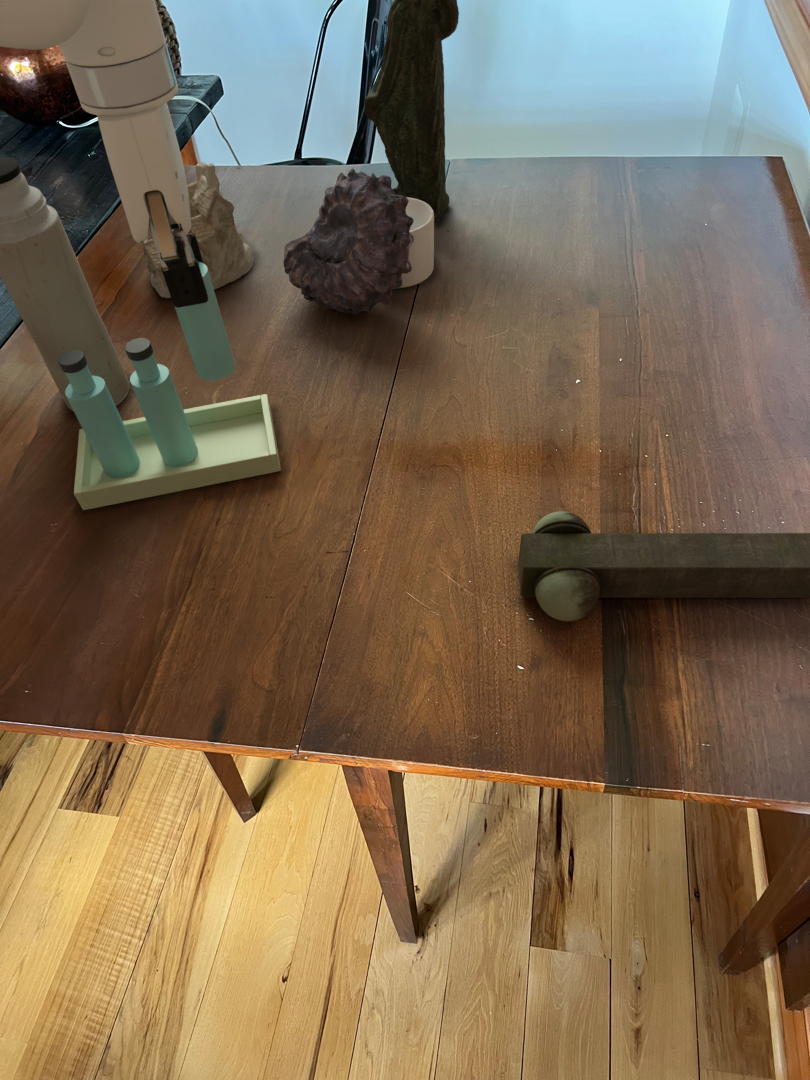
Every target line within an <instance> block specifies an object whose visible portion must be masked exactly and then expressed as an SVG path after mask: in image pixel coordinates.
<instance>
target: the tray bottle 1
mask: <svg viewBox="0 0 810 1080" xmlns="http://www.w3.org/2000/svg"><path fill="white" fill-rule="evenodd" d="M58 363H59V365H60V367H61V369H62V371H63V372H65V374H66V376H67V378H68V380H69V382H70V384H69V385H68V386H67V388H66V390H65V395H66V397H67V399H68V401H69V403H70V405H71V407H72V409H73V411H72V412H74V415H75V417H76V418H77V421H78V423H79V424H80V426H81V429H83V430H84V432H85V434H86V436H87V438H88V440H89V442H90V444H91V446H92V448H93V450H94V452H95V454H96V456H97V458H98V460H99V462H100V464H101V466H102V468H103V470H104V472H105V473H106V475H108V476H109V477H112V478H122V477H126V476H128V475H130V474H132V473H133V472H135V471H136V470H137V468H138V467H139V465H140V459H139V457H138V454H137V452H136V450H135V448H134V445H133V443H132V441H131V439H130V437H129V434H128V432H127V430H126V428H125V426H124V423H123V421H124V420H123V419H122V417H121V413H120V412H119V410H118V408H117V405H116V406H115V403H114V401H113V399H112V397H111V395H110V392H109V390H108V388H107V386H106V383H105V381H104V380H103V379H102V378H101V377H98V376H92V375H91V373H90V371H89V369H88V366H87V361H86V358H85V356H84V354H83V353H82V352H81V351H79V350H71V351H67V352H65V353H63V354H62V355H60V356H59V358H58Z"/></svg>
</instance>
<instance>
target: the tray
mask: <svg viewBox="0 0 810 1080" xmlns="http://www.w3.org/2000/svg"><path fill="white" fill-rule="evenodd" d="M183 410H184V413H185V416H186V419H187V421H188V424H189V427H190V429H191V432H192V435H193V438H194V440H195V443H196V446H197V448H198V454H197V456H196V458H195V459H194V460H193V461H191V462H190V463H188V464H186V465H183V466H177V467H175V466H169V465H167V464H166V463H165V462H164V461H163V459H162V457H161V454H160V452H159V449H158V447H157V445H156V442H155V440H154V437H153V435H152V433H151V430H150V428H149V426H148V423H147V421H146V418H145V416H143V417H142V416H141V417H137V418H132V419H127V420H122V421H123V423H124V426H125V428H126V430H127V432H128V434H129V437H130V439H131V441H132V443H133V445H134V448H135V450H136V452H137V454H138V457H139V459H140V465H139V467H138V468H137V470H136V471H135V472H133V473H132V474H130V475H128V476H126V477H122V478H112V477H109V476H108V475H106V473H105V472H104V470H103V468H102V466H101V464H100V462H99V460H98V458H97V456H96V454H95V452H94V450H93V448H92V446H91V444H90V442H89V440H88V438H87V436H86V434H85V432H84V430H83V428H80V429H78V440H77V441H78V442H77V452H76V466H75V476H74V488H73V495H74V497H75V499H76V501H77V502H78V504H79V506H80V507H81V509H82V511H86V510H92V509H97V508H103V507H107V506H112V505H117V504H122V503H126V502H132V501H137V500H142V499H147V498H152V497H157V496H162V495H168V494H172V493H176V492H181V491H187V490H192V489H197V488H201V487H207V486H211V485H212V486H213V485H218V484H223V483H227V482H232V481H237V480H242V479H243V480H244V479H246V478H252V477H257V476H262V475H267V474H272V473H277V472H281V471H282V467H281V462H280V456H279V449H278V444H277V437H276V432H275V426H274V419H273V413H272V408H271V404H270V400H269V396H268V394H267V393H264V394H258V395H253V396H248V397H243V398H242V397H241V398H238V399H237V398H236V399H232V400H226V401H221V402H217V403H216V402H215V403H210V404H205V405H200V406H195V407H190V408H185V409H184V408H183Z"/></svg>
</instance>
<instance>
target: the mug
mask: <svg viewBox="0 0 810 1080" xmlns="http://www.w3.org/2000/svg"><path fill="white" fill-rule="evenodd" d="M407 199H408V200H409V202H408V205H407V207H406V215H408V216H409V217H412V218H413V220H414V221H413V224H412V225H411V227H410V231H409V232H410V234H411V235H412V236H413V238H414V241H413V243H412V245H411V246H410V249H409V257H408V258H409V261H410V264H411V266H412V270H411V271H410V272H408V273H407V274H406V273H402V286H401V287H399V288H398V289H404V288H405V289H406V288H410V287H413V286H416V285H418V284H421V283H422V282H424V281H425V280H427V279H428V278H429V277H430V276H431V275H432V274H433V271H434V270H435V269H434V268H435V266H434V265H435V263H434V261H435V260H434V259H435V225H434V211H433V210H432V208H431V207H430V205H428V204H427V203H425V202H424V201H421V200H418V199H414V198H409V197H407Z"/></svg>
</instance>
